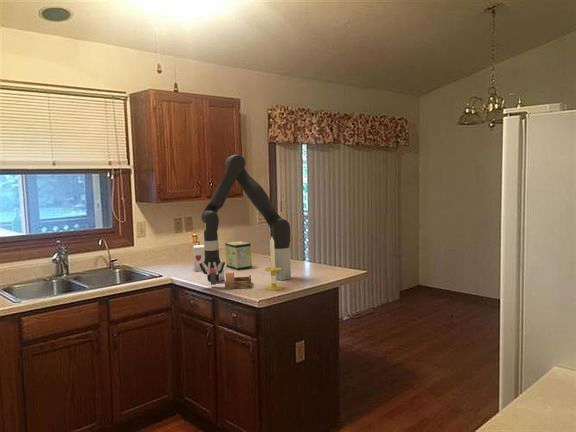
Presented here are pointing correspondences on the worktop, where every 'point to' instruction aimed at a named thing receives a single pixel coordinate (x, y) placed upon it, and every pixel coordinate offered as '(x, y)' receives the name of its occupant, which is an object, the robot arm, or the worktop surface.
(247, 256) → the protein box
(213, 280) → the lopsided dumbbell
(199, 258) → the supplement box
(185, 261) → the worktop surface
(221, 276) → the supplement box
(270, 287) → the candle
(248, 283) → the shelf
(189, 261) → the worktop surface
